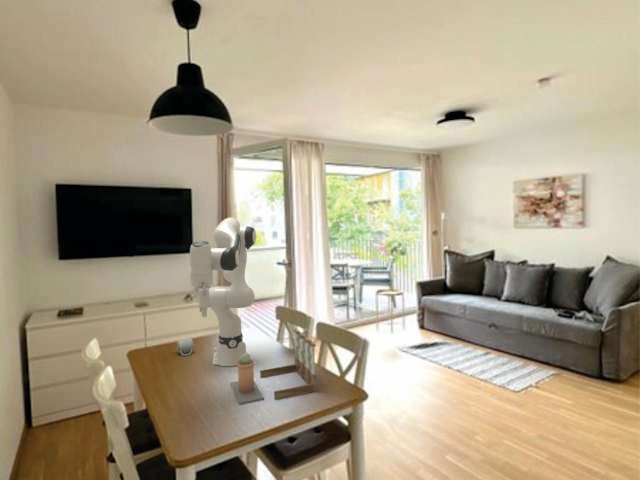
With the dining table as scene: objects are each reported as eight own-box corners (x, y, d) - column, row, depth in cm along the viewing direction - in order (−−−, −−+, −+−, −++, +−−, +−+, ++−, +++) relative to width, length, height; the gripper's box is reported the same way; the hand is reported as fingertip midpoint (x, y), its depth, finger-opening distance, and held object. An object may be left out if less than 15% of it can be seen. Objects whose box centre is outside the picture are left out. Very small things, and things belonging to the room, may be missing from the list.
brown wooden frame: (260, 376, 171) (259, 333, 170) (297, 369, 178) (296, 328, 177) (274, 399, 149) (273, 350, 148) (316, 390, 156) (315, 343, 155)
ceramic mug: (176, 351, 206) (175, 338, 205) (191, 349, 210) (190, 335, 209) (179, 358, 197) (179, 344, 196) (195, 355, 201) (195, 341, 200)
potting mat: (230, 384, 164) (230, 382, 164) (252, 380, 168) (252, 378, 167) (239, 404, 145) (239, 402, 145) (264, 399, 149) (263, 397, 149)
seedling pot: (236, 387, 158) (235, 351, 157) (252, 384, 161) (251, 349, 160) (239, 395, 152) (238, 357, 151) (256, 391, 154) (255, 354, 154)
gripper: (212, 284, 144) (214, 319, 145) (207, 276, 163) (208, 307, 163) (195, 285, 141) (197, 321, 142) (191, 278, 160) (193, 309, 161)
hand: (203, 314), depth 153 cm, fingers open, 8 cm apart
